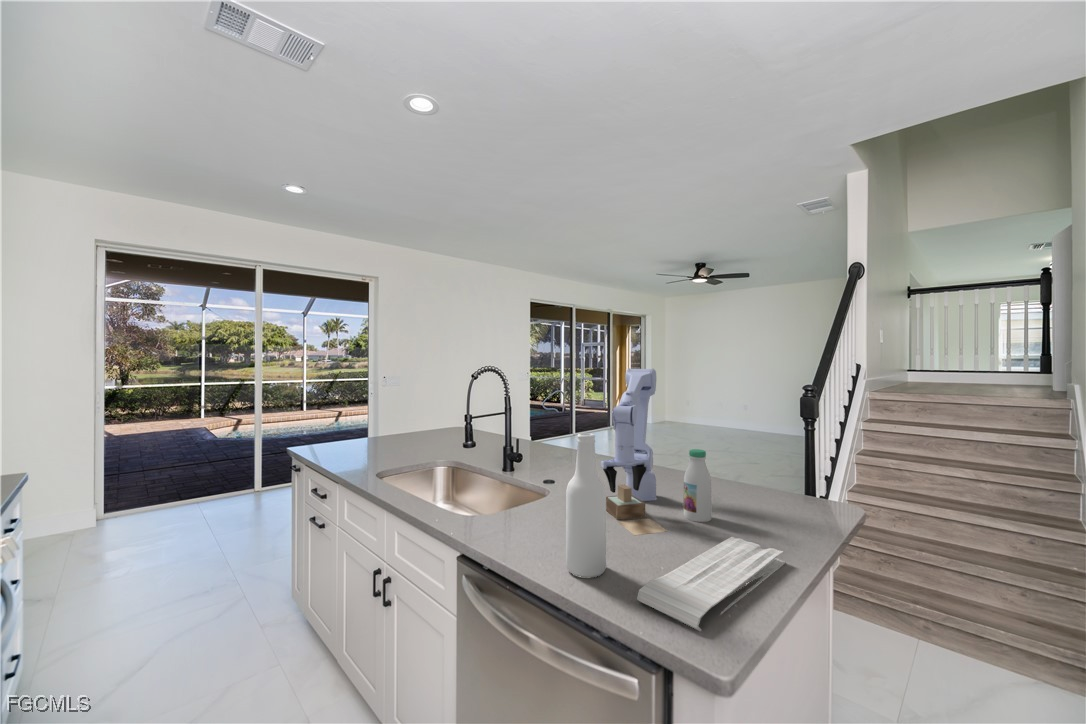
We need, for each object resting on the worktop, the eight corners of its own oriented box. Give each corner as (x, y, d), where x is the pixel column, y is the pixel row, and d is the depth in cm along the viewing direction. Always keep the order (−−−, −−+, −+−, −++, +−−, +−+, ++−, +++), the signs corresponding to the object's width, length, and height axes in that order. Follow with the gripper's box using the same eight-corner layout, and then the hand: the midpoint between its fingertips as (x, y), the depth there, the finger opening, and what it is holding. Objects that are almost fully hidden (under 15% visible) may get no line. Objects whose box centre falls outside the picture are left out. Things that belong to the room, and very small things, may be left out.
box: (631, 508, 139) (631, 494, 139) (645, 517, 130) (645, 503, 130) (604, 510, 136) (604, 496, 136) (617, 520, 128) (617, 505, 127)
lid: (630, 497, 138) (630, 482, 138) (642, 505, 130) (642, 489, 130) (607, 499, 136) (607, 484, 136) (618, 507, 128) (618, 491, 128)
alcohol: (580, 557, 104) (580, 429, 104) (613, 568, 98) (613, 433, 98) (558, 571, 97) (558, 434, 97) (591, 583, 92) (591, 439, 91)
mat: (649, 519, 129) (649, 518, 129) (667, 532, 119) (667, 531, 119) (617, 522, 126) (617, 521, 126) (634, 536, 116) (634, 535, 116)
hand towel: (786, 548, 101) (696, 616, 74) (787, 564, 101) (696, 638, 74) (733, 532, 110) (636, 587, 84) (733, 547, 110) (636, 608, 84)
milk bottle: (707, 514, 133) (707, 448, 133) (714, 523, 125) (714, 453, 125) (681, 513, 134) (681, 447, 134) (686, 522, 126) (686, 452, 126)
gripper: (607, 449, 127) (607, 496, 127) (652, 446, 131) (652, 492, 131) (598, 444, 134) (598, 489, 134) (641, 442, 138) (641, 486, 138)
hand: (624, 490), depth 133 cm, fingers open, 7 cm apart
